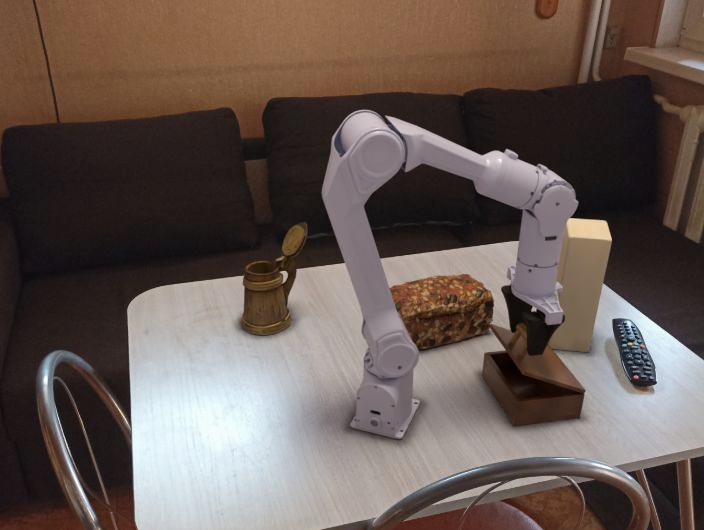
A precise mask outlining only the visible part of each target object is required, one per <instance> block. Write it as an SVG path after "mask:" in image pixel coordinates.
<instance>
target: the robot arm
mask: <svg viewBox="0 0 704 530" xmlns="http://www.w3.org/2000/svg"><path fill="white" fill-rule="evenodd" d="M384 117H385V118H386V120H387V121H388V124H387V123H386V121H385V120H384V118H383V117H382V116H381V115H380V114H378V113H377V112H375V111H373V110H370V109H359V110H355V111H353V112H352V113H350V114H349V115H347V116H346V117H345V118H344V120H343V121H342V122H341V124H339V127H338V128H337V129H336V131H335V133H334V134H333V135H332V137H331V144H330V154H329V158H328V161H327V167H326V171H325V174H324V180H323V184H322V188H321V199H322V201H323V204H324V207H325V210H326V212H327V216H328V218H329V221H330V224H331V227H332V231H333V233H334V235H335V238H336V242H337V245H338V247H339V250H340V252H341V257H342V258H343V262H344V265H345V267H346V270H347V272H348V276H349V279H350V282H351V285H352V287H353V290H354V293H355V296H356V299H357V301H358V304H359V305H358V306H359V307H360V312H361V316H362V322H361V328H360V329H361V330H360V331H361V335H362V338H363V339H364V340H365V342H366V345H367V348H366V351H365V353H364V357H363V377H362V381H361V383H360V385H359V387H358V389H357V391H356V394H355V396H356V397H355V409H356V410H355V415H354V417H353V419H352V420H351V422H350V424H349V426H350V428H352V429H356V430H359V431H364V432H367V433H372V434H374V435H375V434H376V435H379V436H384V437H388V438H393V439H396V440H402V439H404V437H405V434H406V432H407V430H408V428H409V427H410V425H411V422H412V420H413V418H414V417H415V415H416V412H417V411H418V408H419V407H420V405H421V400H419V399H416V398H413V392H414V391H413V390H414V369H415V368H416V367H417V365H418V363H419V360H420V351H419V349H417V347H416V345H415V344H414V343H413V341H412V339H411V337H410V335H409V333H408V331H407V329H406V327H405V325H404V322H403V319H402V317H401V315H400V314H399V313H398V312H397V310H396V307H395V304H394V301H393V298H392V295H391V291H390V288H391V287H390V285H389V281H388V278H387V276H386V273H385V269H384V267H383V262H382V259H381V256H380V254H379V251H378V247H377V245H376V242H375V238H374V235H373V232H372V229H371V225H370V222H369V219H368V216H367V213H366V210H365V204H366V203H367V201H368V200H369V198H370V197H371V195H372V194H373V193H374V192H376V191H377V190H379V188H380V187H382V186H383V185H384V184H386V183H387V182H388V181H389V180H390V179H392V178H393V177H394V176H395V175H397V173H398V172H399V171H400V169H402V171H404V173H407V172H410V171H412V170H413V169H415V168H417V167H418V166H420V165H422V164H424V165H427V166H430V167H433V168H436V169H438V170H442V171H445V172H447V173H451V174H454V175H456V176H459V177H463V178H466V179H468V180H471V181H472V182H473V185H474V189H475V191H476V192H477V193H478V194H480V195H482V196H484V197H487V198H489V199H493V200H495V201H498V202H500V203H503V204H505V205H508V206H511V207H513V208H514V209H518V210H522V214H521V223H520V229H519V237H518V245H517V253H516V262H515V264H514V265H508V266H507V273H506V279H508V281H510V284H506V285H502V286H501V288H500V291H501V293H502V296H503V298H504V301H505V305H506V309H507V314H508V322H509V330H511V332H512V333H515V332H516V326H517V324H519V323H523V324H524V325H525V326H526V330H527V352H528V354H529V356H535V355H542V354H543V352H544V350H545V348H546V346H547V344H549V340H550V338H551V337H552V335H553V334H554V332H555V331H556V330H557V328H558V327H559V326H560V325H561V324H562V323H564V321H565V315H564V314H563V310H562V309H561V308H560V305H559V300H558V295H557V292H562V289H563V287H562V286H561V285H560V284H559V283H558V282H556V280H557V274H558V267H559V261H560V255H561V249H562V243H563V236H564V231H565V228H566V223H567V221H568V219H569V218H571V217H572V216H574V214H575V212H576V210H577V209H578V206H579V201H578V200H577V199H576V198H577V195H576V191H575V189H574V188H573V185H571V184H570V183H569V182H568V181H567V180H565V179H563V178H562V177H561V176H559V175H558V174H557V173H556V172H554V171H552V170H551V169H549V168H548V167H547V166H545V165H544V164H541V163H538V164H537V165H536V166H535V165H533V164H531V163H529V162H525V161H523V160H521V159H519V155H518V154H517V153H516V152H515V151H513V150H511V149H508V148H506V149H505V150H504V152H502V151H500V150H492V151H490V152H487V153H485V154H479V153H477V152H475V151H474V150H473V151H472V150H471V149H468V148H466V147H464V146H462V145H460V144H457V143H456V142H453V141H450V140H449V139H447V138H444V137H442V136H440V135H438V134H436V133H434V132H431V131H429V130H427V129H425V128H422V127H420V126H418V125H416V124H414V123H413V124H412V123H411V122H407V121H405V120H402V119H400V118H396V117H394V116H390V115H384ZM533 308H535V309H536V310H533Z"/></svg>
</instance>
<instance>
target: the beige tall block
mask: <svg viewBox="0 0 704 530" xmlns="http://www.w3.org/2000/svg"><path fill="white" fill-rule="evenodd" d="M612 241H613V239H612V235H611V232H610V228H609V225H608V221H607V220H603V219H601V220H600V219H588V218H573V217H572V218H571V217H570V218H569V219H568V221H567V223H566V228H565V231H564V236H563V243H562V249H561V255H560V261H559V267H558V274H557V280H556V282H558V283H559V284H560V285H561V286H562V287H563V289H562V292H557V295H558V300H559V305H560V308H561V309H562V310H563V314H564V315H565V321H564V323H562V324H561V325H560V326H559V327H558V328H557V330H556V331H555V332H554V334H553V335H552V337H551V338H550V340H549V342H548V344H549V346H550V347H551V348H552V349H553V350H561V351H570V352H578V353H579V352H580V353H589V352H590V347H591V343H592V338H593V334H594V328H595V323H596V319H597V314H598V309H599V305H600V299H601V295H602V290H603V287H604V286H603V285H604V280H605V276H606V272H607V267H608V263H609V257H610V253H611V247H612V244H613V243H612Z"/></svg>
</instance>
